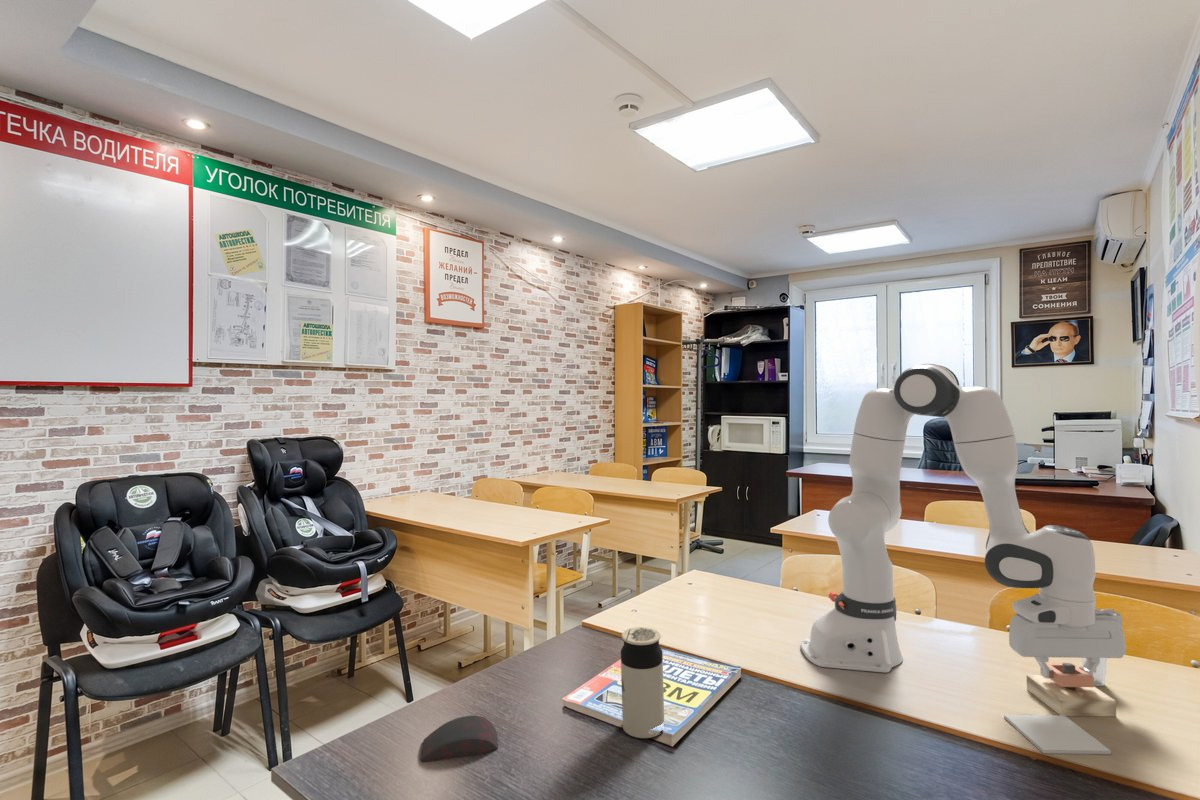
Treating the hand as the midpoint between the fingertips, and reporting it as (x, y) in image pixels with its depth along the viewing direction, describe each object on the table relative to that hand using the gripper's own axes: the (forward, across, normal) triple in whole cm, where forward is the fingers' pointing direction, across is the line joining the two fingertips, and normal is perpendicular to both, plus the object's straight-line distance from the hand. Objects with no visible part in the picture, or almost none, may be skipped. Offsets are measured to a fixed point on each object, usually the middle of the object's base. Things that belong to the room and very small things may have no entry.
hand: (1066, 677), depth 117 cm
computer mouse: (+6, +118, +18) cm, 120 cm away
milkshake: (+5, -11, -8) cm, 15 cm away
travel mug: (+6, +85, +11) cm, 86 cm away
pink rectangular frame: (0, 0, 0) cm, 0 cm away
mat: (+5, +10, +12) cm, 16 cm away
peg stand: (+5, 0, 0) cm, 5 cm away
